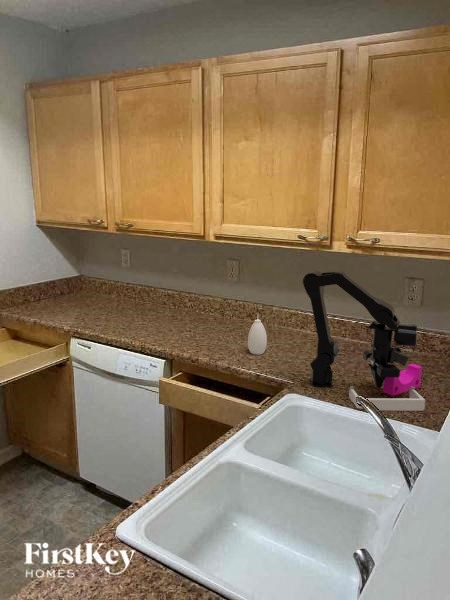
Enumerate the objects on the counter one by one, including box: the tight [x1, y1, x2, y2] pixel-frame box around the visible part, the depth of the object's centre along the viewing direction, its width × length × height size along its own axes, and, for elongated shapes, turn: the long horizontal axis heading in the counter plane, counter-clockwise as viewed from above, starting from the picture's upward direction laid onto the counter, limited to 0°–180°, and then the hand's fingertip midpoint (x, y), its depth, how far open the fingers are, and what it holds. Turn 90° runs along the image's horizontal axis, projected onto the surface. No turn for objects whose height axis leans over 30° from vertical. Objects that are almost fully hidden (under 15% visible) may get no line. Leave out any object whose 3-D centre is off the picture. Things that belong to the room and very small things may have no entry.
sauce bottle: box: [247, 314, 268, 356], centre depth 191 cm, size 8×8×18 cm
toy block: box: [382, 363, 423, 397], centre depth 160 cm, size 15×6×8 cm, turn 123°
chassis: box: [348, 385, 426, 412], centre depth 147 cm, size 21×9×4 cm, turn 90°
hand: (378, 387), depth 154 cm, fingers closed
